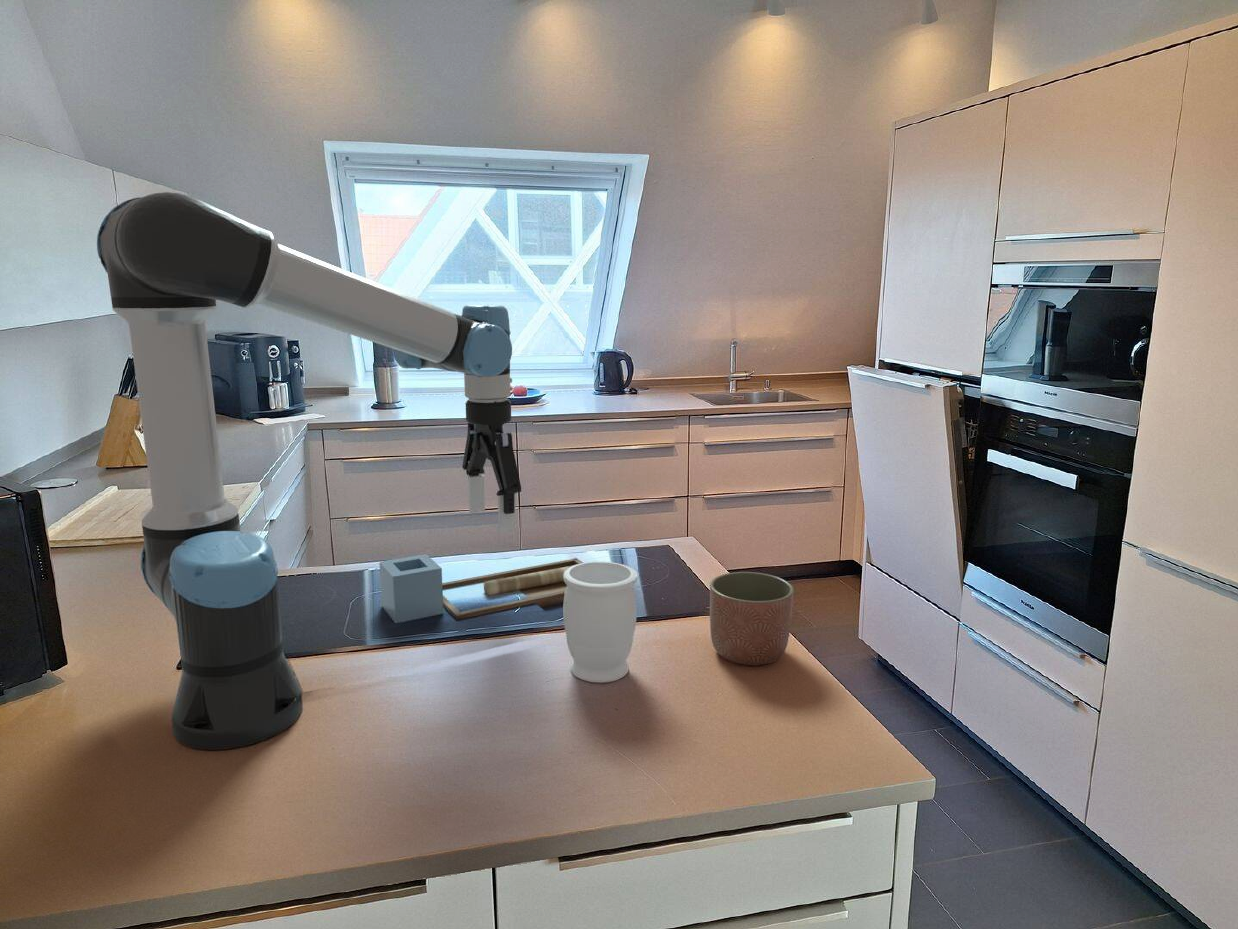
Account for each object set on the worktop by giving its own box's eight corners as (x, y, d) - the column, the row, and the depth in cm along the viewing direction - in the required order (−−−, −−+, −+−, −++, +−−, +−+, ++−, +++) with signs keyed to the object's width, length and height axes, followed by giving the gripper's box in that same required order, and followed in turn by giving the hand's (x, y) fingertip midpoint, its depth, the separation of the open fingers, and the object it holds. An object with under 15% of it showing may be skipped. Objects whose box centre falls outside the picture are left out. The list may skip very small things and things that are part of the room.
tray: (615, 591, 149) (615, 582, 148) (456, 625, 134) (456, 615, 133) (576, 566, 161) (576, 558, 161) (427, 595, 146) (427, 586, 146)
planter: (742, 680, 117) (745, 608, 114) (691, 646, 127) (693, 580, 124) (807, 660, 123) (811, 592, 120) (753, 630, 133) (756, 566, 131)
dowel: (497, 620, 143) (593, 576, 153) (485, 583, 142) (582, 541, 152) (492, 618, 146) (587, 575, 155) (480, 582, 145) (576, 540, 154)
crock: (443, 619, 136) (441, 568, 134) (395, 629, 132) (392, 576, 130) (428, 603, 143) (426, 554, 141) (382, 612, 139) (379, 561, 137)
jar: (650, 670, 119) (652, 572, 116) (600, 695, 112) (601, 592, 108) (598, 647, 126) (598, 555, 123) (548, 670, 119) (547, 572, 115)
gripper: (540, 407, 128) (542, 537, 133) (481, 388, 149) (484, 501, 154) (496, 411, 124) (499, 544, 129) (441, 391, 145) (446, 506, 150)
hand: (491, 521), depth 141 cm, fingers open, 13 cm apart
